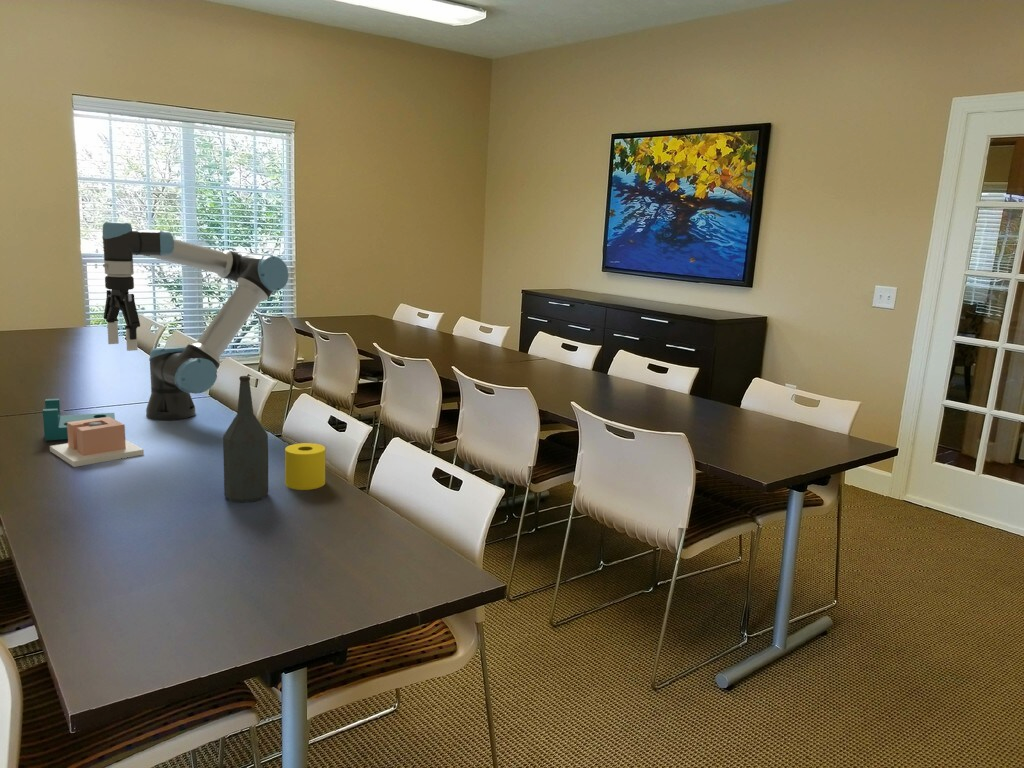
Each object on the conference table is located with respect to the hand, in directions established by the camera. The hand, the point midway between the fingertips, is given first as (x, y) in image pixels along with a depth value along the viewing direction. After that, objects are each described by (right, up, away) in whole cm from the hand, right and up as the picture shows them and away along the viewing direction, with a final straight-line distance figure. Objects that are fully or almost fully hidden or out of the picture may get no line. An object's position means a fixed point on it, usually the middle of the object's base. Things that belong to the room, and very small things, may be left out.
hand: (122, 347), depth 229 cm
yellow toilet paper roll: (+63, -37, -29) cm, 79 cm away
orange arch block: (0, -29, -15) cm, 32 cm away
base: (0, -30, -15) cm, 34 cm away
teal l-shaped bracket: (-13, -27, +1) cm, 30 cm away
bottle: (+51, -39, -41) cm, 76 cm away
